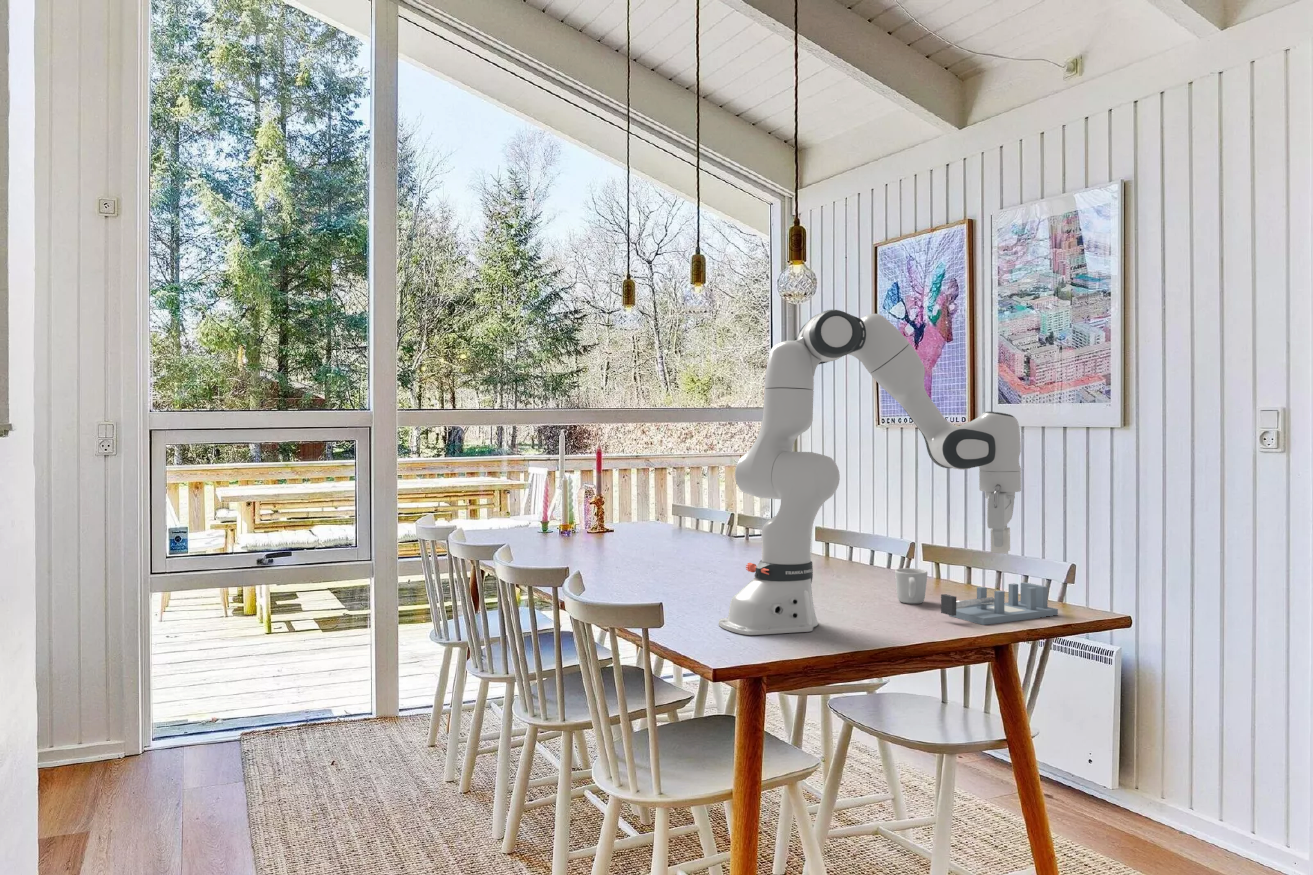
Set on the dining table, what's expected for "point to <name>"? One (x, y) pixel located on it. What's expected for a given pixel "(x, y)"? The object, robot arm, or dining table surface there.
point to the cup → (911, 585)
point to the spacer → (1006, 542)
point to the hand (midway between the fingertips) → (1000, 544)
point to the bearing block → (1010, 605)
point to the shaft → (961, 603)
